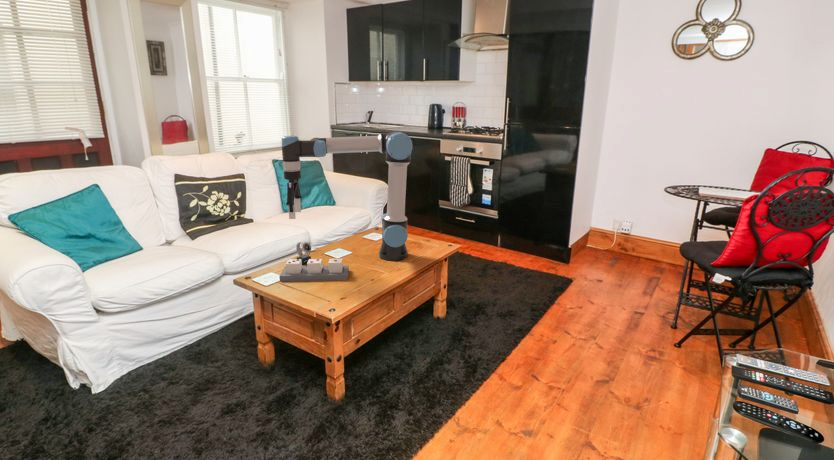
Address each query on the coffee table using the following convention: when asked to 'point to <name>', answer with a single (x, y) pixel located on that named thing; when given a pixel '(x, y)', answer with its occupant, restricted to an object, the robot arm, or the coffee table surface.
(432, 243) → the coffee table surface
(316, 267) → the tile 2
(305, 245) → the watch
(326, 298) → the coffee table surface
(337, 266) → the white die
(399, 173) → the robot arm
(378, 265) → the coffee table surface
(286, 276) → the board
